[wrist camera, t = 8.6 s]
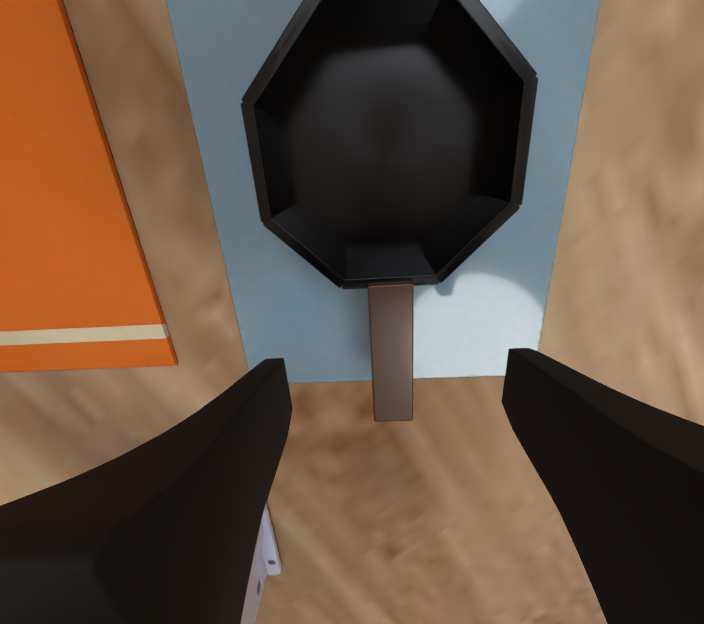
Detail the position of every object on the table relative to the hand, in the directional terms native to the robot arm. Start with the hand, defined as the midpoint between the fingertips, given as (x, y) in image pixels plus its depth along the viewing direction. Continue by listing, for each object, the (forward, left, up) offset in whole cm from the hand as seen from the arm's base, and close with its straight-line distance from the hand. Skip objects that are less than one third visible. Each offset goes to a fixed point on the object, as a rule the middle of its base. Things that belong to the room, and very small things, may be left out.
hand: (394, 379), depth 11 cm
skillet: (+4, 0, -5) cm, 6 cm away
